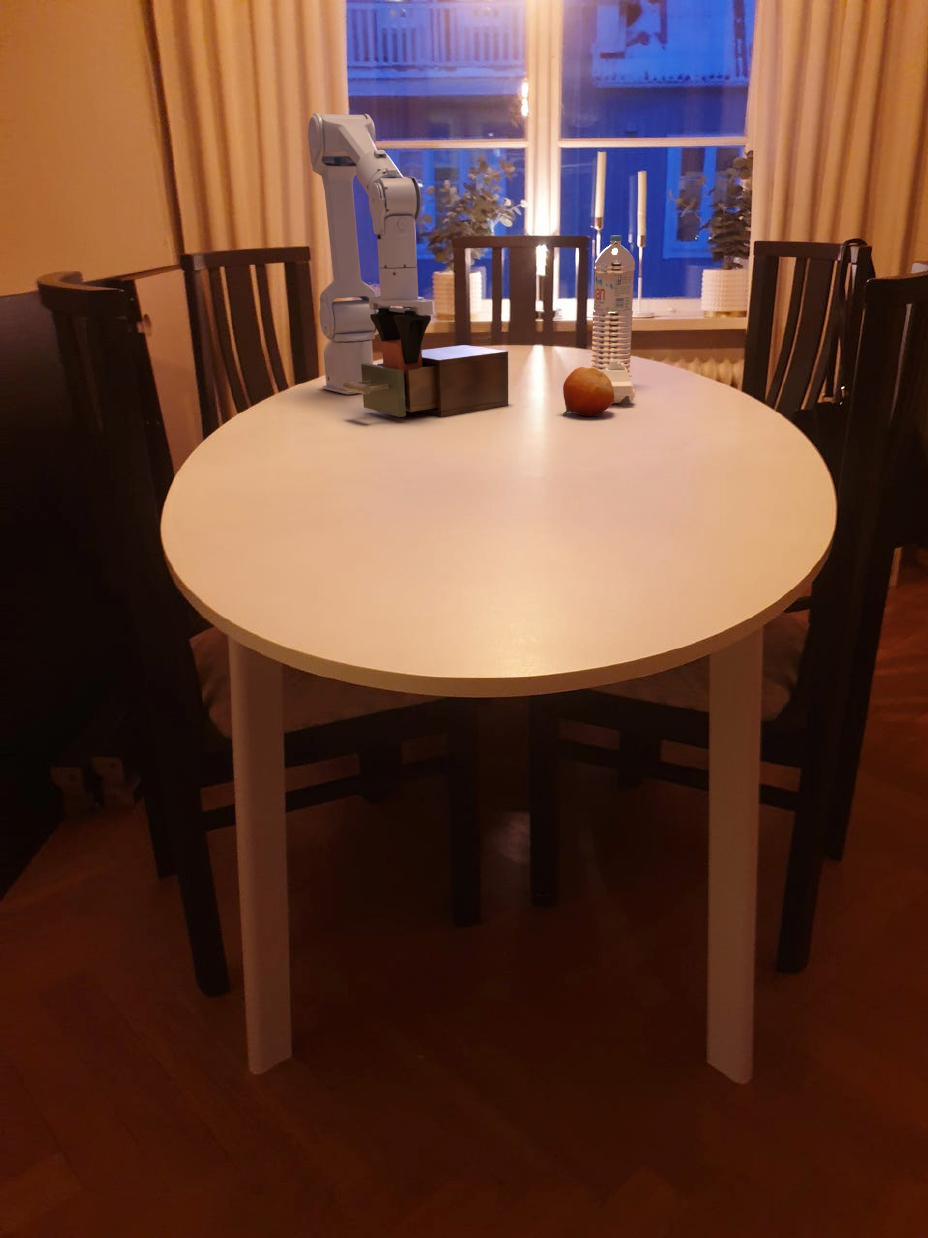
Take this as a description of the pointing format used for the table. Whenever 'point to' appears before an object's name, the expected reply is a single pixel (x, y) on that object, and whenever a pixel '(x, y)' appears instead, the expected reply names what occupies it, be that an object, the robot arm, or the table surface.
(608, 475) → the table surface
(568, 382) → the fruit
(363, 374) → the drawer
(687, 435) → the table surface
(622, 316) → the water bottle
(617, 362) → the toy car
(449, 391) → the cabinet
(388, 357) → the block
